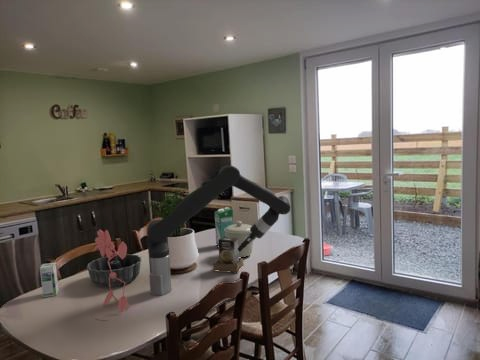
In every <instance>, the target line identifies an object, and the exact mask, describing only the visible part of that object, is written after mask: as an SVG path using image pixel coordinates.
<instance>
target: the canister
mask: <svg viewBox="0 0 480 360" xmlns="http://www.w3.org/2000/svg"><path fill="white" fill-rule="evenodd" d="M252 226H253V225H251V224H248V223H247V224H246V223H243V222H242V221H241V220H237V221H236V222H235V224H234V223H233V225H230V226H228V227H226V228H225V229H224V231H225V233H226V237H232V238H238V247H239V246H240V245H241V243H243V242H244V239H245V238H246V237H247V236H248V235H249V234H250V233H252V232H251V231H250V228H251V227H252ZM253 242H254V241H252V242H251V243H250V244H249V245H247V246H246V247H245V248H243V249H242V250H241V251H240V252H239V251H238V254H239V257H246V256H248V257H250V256H251V255H252V253H253V244H254V243H253ZM250 254H251V255H250ZM249 255H250V256H249ZM246 258H247V257H246Z"/></svg>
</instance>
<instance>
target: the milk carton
mask: <svg viewBox="0 0 480 360" xmlns="http://www.w3.org/2000/svg"><path fill="white" fill-rule="evenodd" d="M233 210H234V209H233V208H231V207H228V206H226V207H223V208H219V209H218V210H216V211H214V223H215V225H214V227H215V228H214V229H215V244H217V245H218V246H219V239H220V238H222V237H226V233H225V231H224V229H225V228H226V227H228V226H230V225H234V212H233ZM218 246H217V247H218Z"/></svg>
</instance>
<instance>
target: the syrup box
mask: <svg viewBox="0 0 480 360" xmlns="http://www.w3.org/2000/svg"><path fill="white" fill-rule="evenodd" d="M39 271H40V274H39V275H40V280H41V281H40V282H41V289H42V298H48V297H56V296H57V295H58V293H59V284H58V274H57V273H58V272H57V263H56V262H50V263H42V264H41V265H40V266H39Z"/></svg>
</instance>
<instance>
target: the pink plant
mask: <svg viewBox="0 0 480 360" xmlns="http://www.w3.org/2000/svg"><path fill="white" fill-rule="evenodd" d="M96 233H97V237H95V239H94V241H95V243H96V244H97V245H96V246H95V247H94V248H93V250H92V252H95V250H97V249H98V250H99V255H100V256H101V258H102V257H108V258H109V260H108V261H107V262H108V265H109V268H110V271H111V273H110V276H109V277H110V278H112V279H113V278H116V273H115V272H112V270H111V267H110V264H109V261H110V260H111V259H112V258H113V257H114V256H115V255H119V256H120V258H122V259H123V258H124V257H125V255H127V250H128V247H127V244H126V243H125V242H124V241H121V243H120V244H119V245H118V247H117V251H116V249H115V247H116V246H115V244H114V243H113V242H112V239H111V236H110V233H109V231H108V230H107V229H105V231H103V230H102V229H98V230H97V231H96ZM112 255H114V256H112ZM110 256H112V257H111V258H110ZM110 278H109V286H108V287H109V291H108V293H107V295H106V296H105V298H104V300H103V304H102V306H106V305H107V304H109V302H110V300H111V299H114V300H115V302H116V303H117V306H118V309H119V311H120V313H121V314H122V313H123V312H124V311H125V310H126V308H128V309H130V308H131V306H130V304H129V302H128V299H127V297H126V296H125V289H126V288H125V287H126V284H125V282H124V281H122V280H120V279H118V278H116V279H118V280H120V281H122V282H124V284H123V290H122V291H123V293H122V296H121V297H120V298H119V300H118V299H117V298H116V297H115V295H114V290H111V287H110ZM96 320H97V321H99V319H98V318H96ZM101 321H102V322H109V321H108V319H107V320H101Z"/></svg>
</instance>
